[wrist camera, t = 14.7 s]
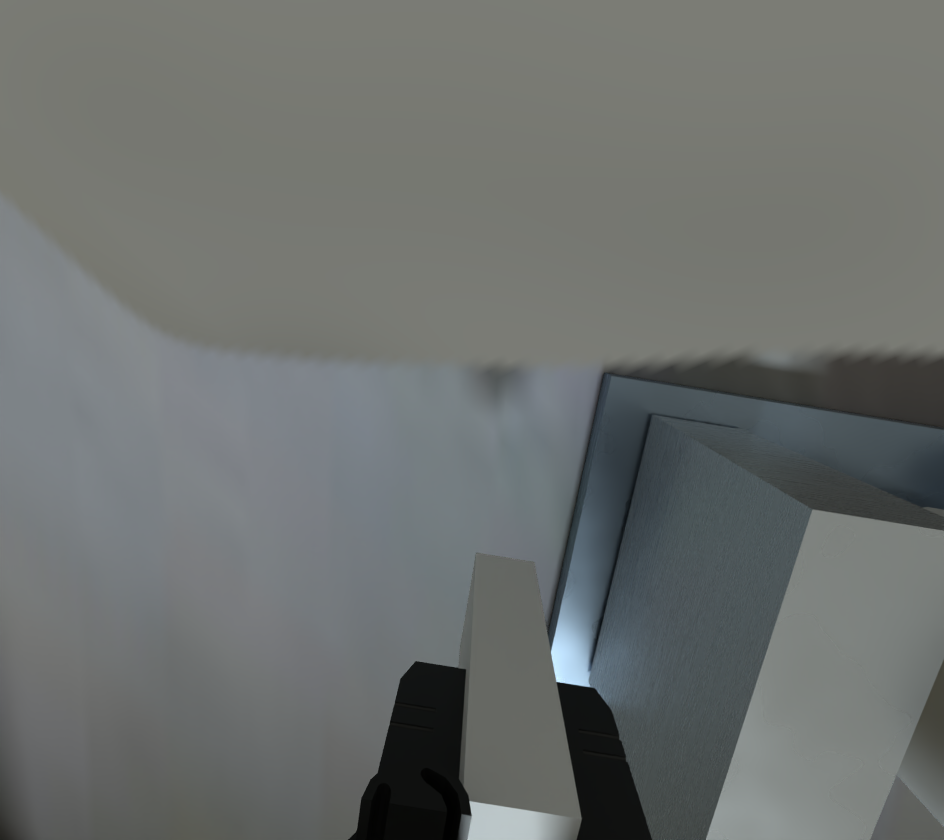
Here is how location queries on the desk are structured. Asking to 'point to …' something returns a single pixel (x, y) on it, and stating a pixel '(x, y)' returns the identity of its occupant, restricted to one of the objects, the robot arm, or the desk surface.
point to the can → (928, 747)
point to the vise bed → (787, 424)
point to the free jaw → (766, 638)
